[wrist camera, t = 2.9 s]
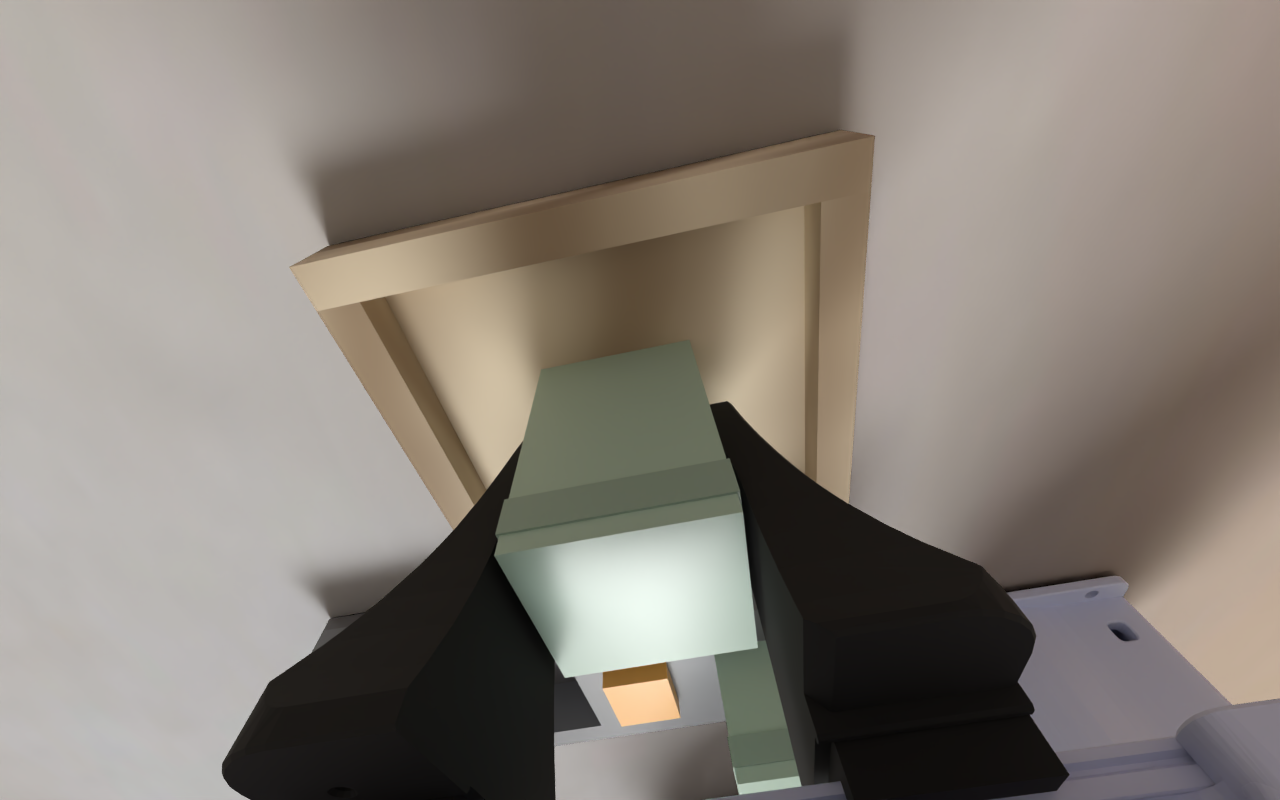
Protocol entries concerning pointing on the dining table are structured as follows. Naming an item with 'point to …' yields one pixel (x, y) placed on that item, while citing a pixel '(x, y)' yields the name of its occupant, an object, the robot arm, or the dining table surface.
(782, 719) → the gray fixture base
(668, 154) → the dining table surface
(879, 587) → the robot arm
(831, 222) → the tray
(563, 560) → the plug
